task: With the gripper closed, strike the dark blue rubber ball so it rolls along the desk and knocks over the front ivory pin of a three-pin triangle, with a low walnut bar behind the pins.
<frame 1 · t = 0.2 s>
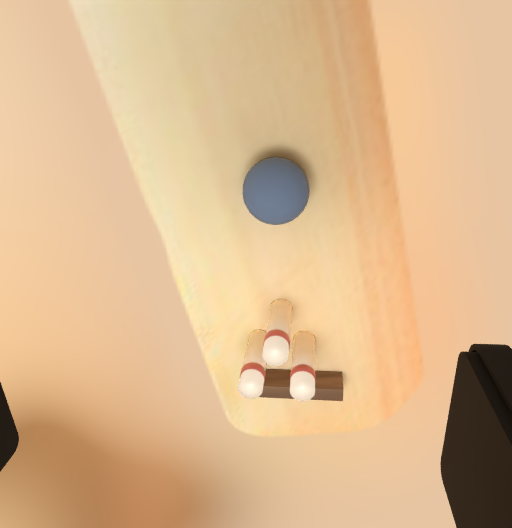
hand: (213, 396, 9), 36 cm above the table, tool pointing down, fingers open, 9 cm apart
ball: (275, 191, 41), on the table
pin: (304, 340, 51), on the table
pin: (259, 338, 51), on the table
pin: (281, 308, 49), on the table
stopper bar: (299, 375, 53), on the table
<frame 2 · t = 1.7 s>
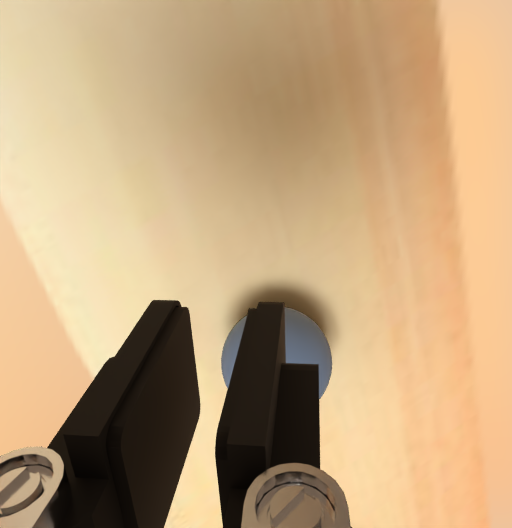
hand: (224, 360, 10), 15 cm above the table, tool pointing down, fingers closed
ball: (276, 361, 25), on the table
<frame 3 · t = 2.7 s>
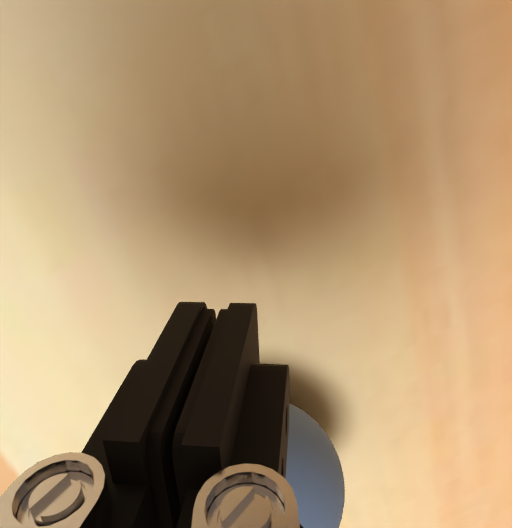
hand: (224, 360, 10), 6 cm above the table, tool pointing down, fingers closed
ball: (258, 484, 16), on the table
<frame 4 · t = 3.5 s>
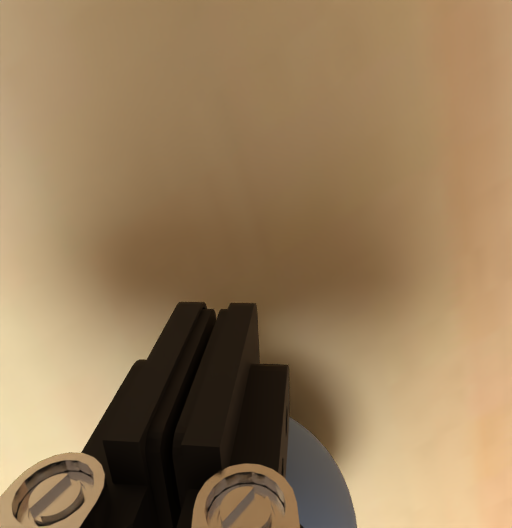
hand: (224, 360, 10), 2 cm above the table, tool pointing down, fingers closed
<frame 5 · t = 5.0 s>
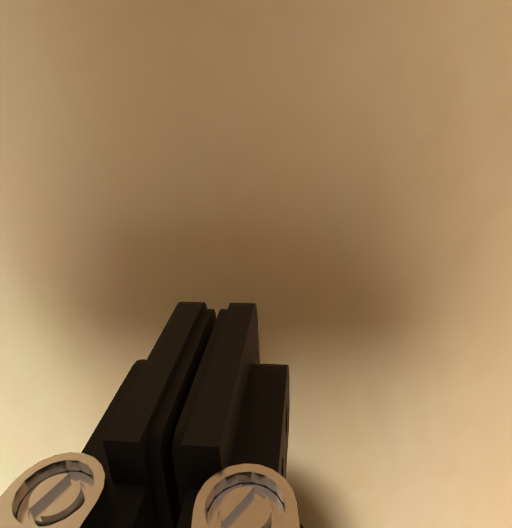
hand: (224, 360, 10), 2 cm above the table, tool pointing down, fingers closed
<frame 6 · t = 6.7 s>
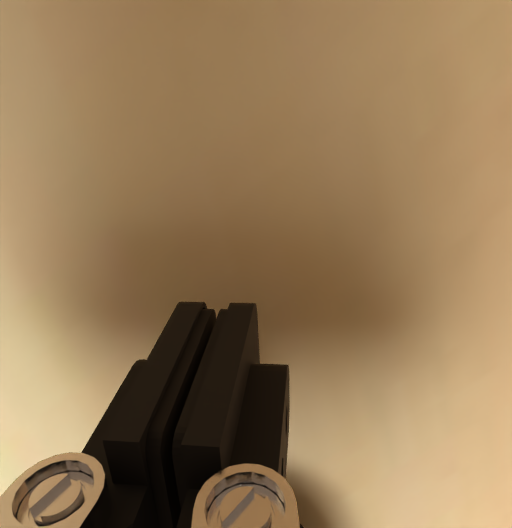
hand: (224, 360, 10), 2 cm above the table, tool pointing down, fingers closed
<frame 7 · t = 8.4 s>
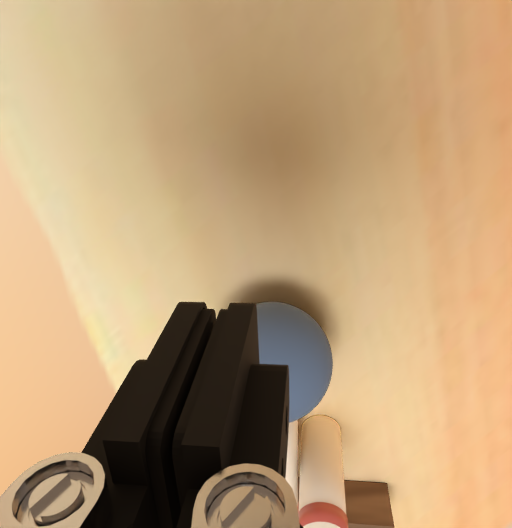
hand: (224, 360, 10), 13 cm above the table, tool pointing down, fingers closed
ball: (271, 361, 23), on the table
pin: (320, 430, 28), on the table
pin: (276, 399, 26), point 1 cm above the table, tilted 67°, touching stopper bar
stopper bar: (311, 486, 30), on the table
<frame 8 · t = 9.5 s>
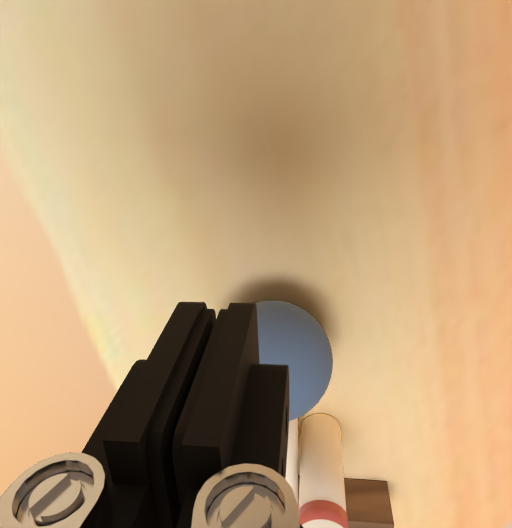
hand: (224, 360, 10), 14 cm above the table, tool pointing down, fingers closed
ball: (272, 360, 23), on the table
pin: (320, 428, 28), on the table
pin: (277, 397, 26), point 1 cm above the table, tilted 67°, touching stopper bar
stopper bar: (312, 485, 30), on the table
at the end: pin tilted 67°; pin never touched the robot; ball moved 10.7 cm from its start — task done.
